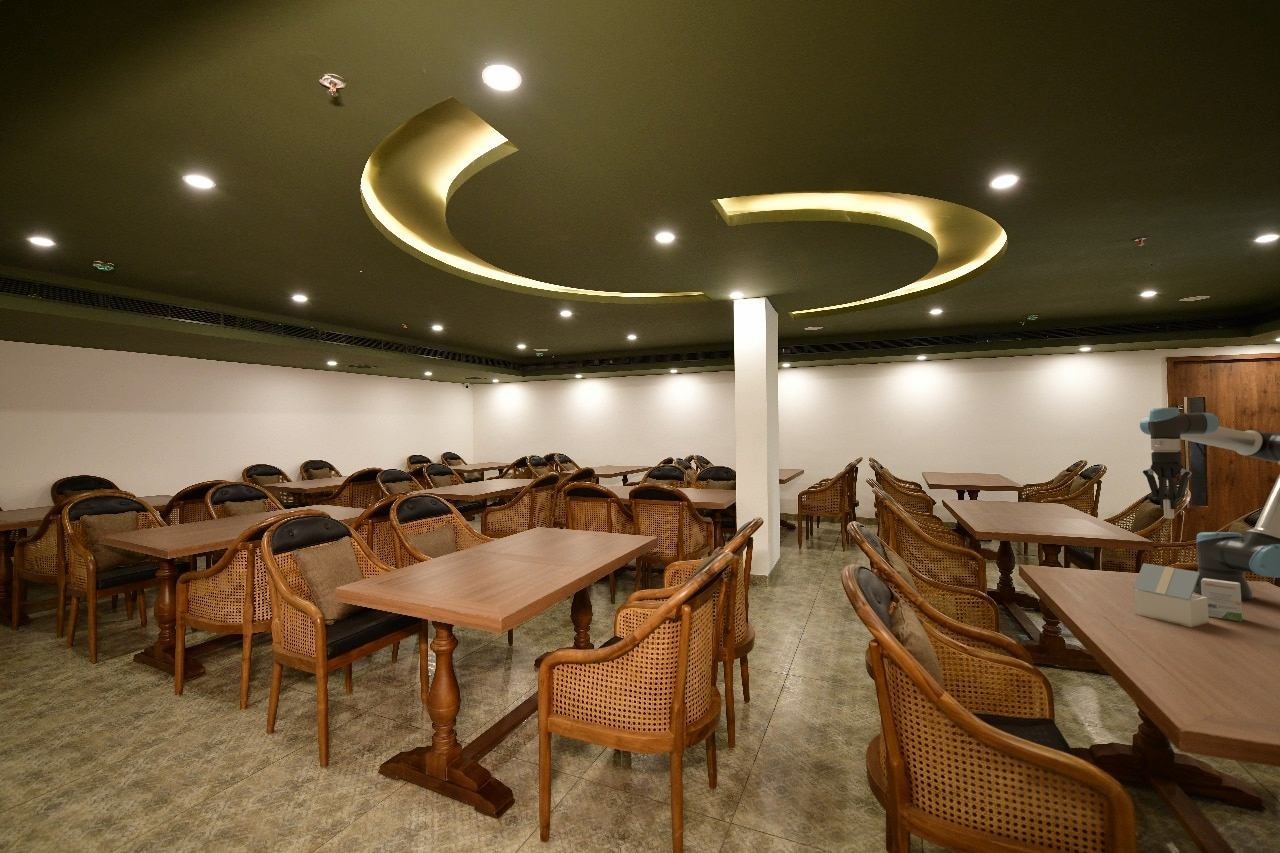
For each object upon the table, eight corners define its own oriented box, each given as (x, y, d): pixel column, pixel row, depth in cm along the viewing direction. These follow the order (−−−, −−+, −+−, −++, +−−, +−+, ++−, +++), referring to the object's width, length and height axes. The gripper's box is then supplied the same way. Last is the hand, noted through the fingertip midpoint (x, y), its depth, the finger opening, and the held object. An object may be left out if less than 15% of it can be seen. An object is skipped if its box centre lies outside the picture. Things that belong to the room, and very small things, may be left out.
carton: (1152, 610, 180) (1151, 586, 180) (1208, 622, 167) (1207, 597, 167) (1135, 614, 176) (1134, 589, 176) (1191, 627, 163) (1190, 601, 163)
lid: (1144, 564, 179) (1143, 562, 179) (1199, 573, 166) (1198, 571, 166) (1134, 588, 176) (1133, 587, 176) (1189, 600, 163) (1188, 599, 163)
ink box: (1242, 618, 170) (1240, 582, 170) (1241, 622, 167) (1239, 584, 167) (1204, 612, 177) (1202, 577, 177) (1202, 615, 173) (1200, 579, 174)
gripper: (1136, 451, 191) (1139, 516, 190) (1184, 451, 179) (1188, 521, 178) (1148, 450, 194) (1151, 515, 193) (1196, 451, 181) (1200, 519, 181)
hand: (1169, 518), depth 185 cm, fingers closed
